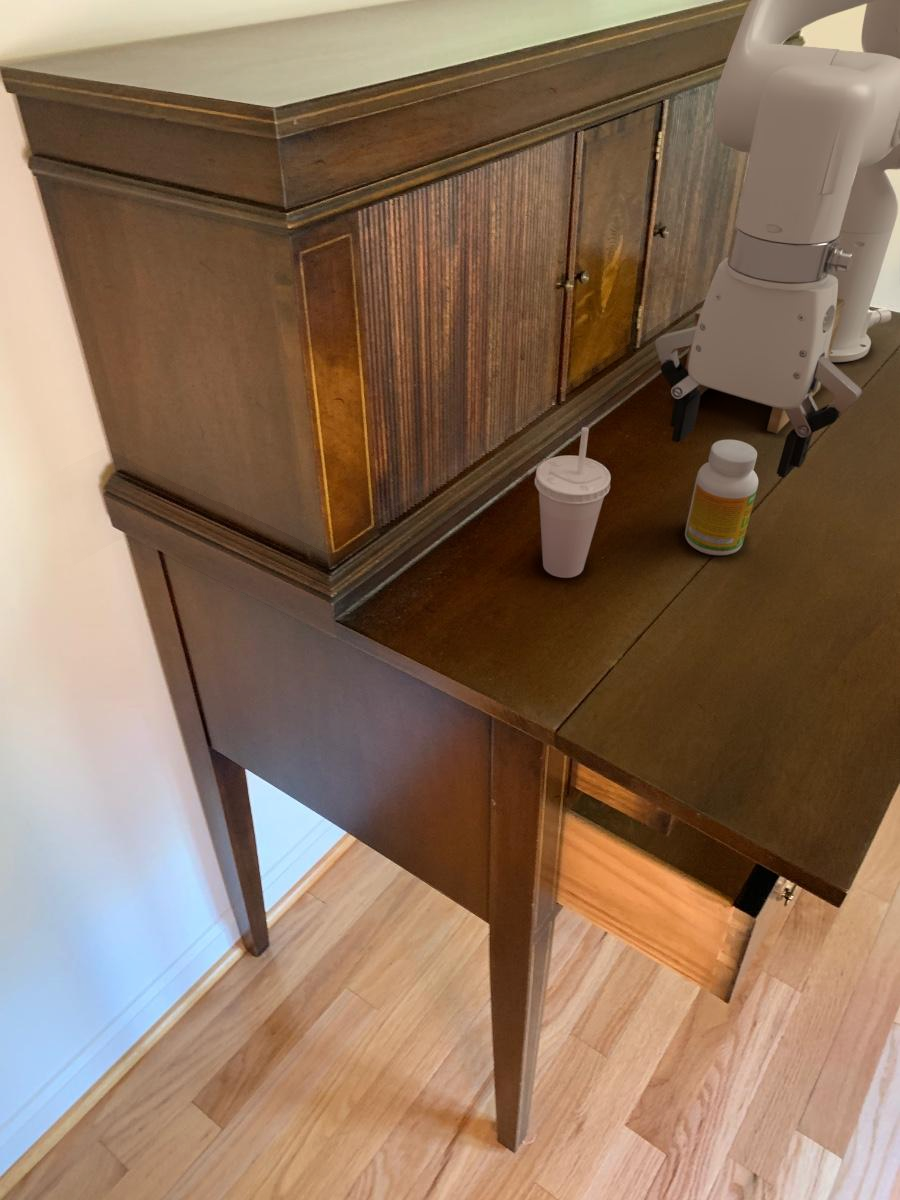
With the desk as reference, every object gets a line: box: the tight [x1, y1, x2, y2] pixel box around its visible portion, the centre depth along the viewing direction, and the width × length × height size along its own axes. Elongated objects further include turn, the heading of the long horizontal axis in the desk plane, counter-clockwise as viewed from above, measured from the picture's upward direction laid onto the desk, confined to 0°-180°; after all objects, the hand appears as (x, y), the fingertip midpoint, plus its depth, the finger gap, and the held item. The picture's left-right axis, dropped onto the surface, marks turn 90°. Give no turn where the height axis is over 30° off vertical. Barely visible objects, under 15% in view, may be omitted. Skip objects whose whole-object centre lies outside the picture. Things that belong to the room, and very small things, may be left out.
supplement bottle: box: [684, 439, 759, 556], centre depth 84 cm, size 5×5×10 cm
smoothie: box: [534, 426, 612, 579], centre depth 79 cm, size 6×6×14 cm
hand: (733, 452), depth 80 cm, fingers open, 9 cm apart
